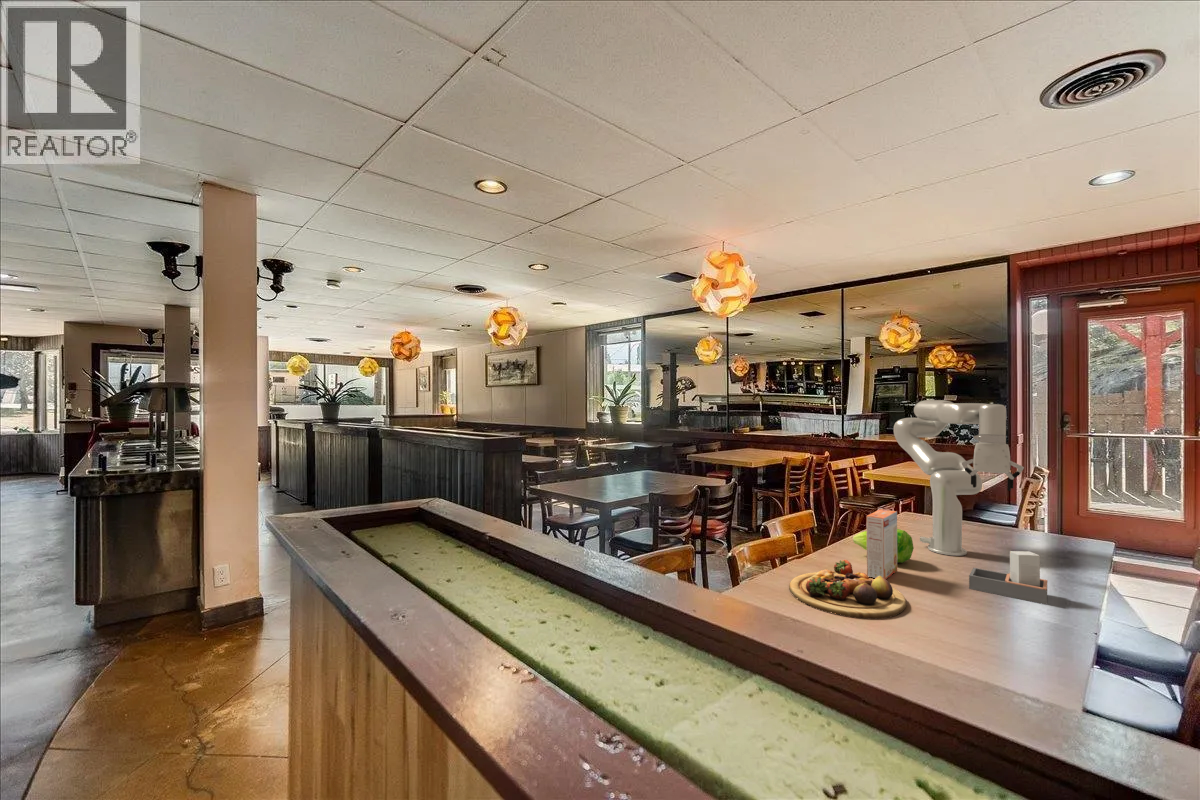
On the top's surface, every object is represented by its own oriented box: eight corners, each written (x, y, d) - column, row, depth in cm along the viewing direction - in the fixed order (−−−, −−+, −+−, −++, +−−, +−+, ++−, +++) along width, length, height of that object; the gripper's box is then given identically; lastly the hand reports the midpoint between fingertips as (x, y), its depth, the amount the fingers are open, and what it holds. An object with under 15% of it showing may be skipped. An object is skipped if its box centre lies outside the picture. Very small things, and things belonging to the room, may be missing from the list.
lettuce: (859, 549, 203) (859, 519, 203) (918, 561, 189) (918, 528, 189) (847, 557, 193) (847, 525, 193) (908, 570, 179) (909, 535, 179)
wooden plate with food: (807, 571, 179) (807, 547, 178) (914, 593, 159) (914, 566, 158) (773, 602, 154) (773, 574, 154) (895, 632, 134) (895, 600, 134)
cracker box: (879, 567, 182) (879, 508, 182) (898, 571, 178) (898, 511, 178) (865, 577, 172) (865, 514, 172) (884, 581, 168) (885, 517, 168)
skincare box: (1029, 589, 159) (1030, 551, 159) (1040, 595, 155) (1040, 555, 155) (1008, 589, 160) (1009, 550, 160) (1018, 594, 155) (1019, 554, 155)
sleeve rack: (969, 588, 162) (969, 574, 162) (973, 580, 170) (973, 566, 170) (1046, 604, 150) (1046, 589, 150) (1047, 594, 157) (1047, 580, 157)
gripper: (960, 438, 183) (960, 487, 183) (1023, 441, 171) (1023, 493, 171) (963, 437, 188) (963, 484, 189) (1024, 440, 177) (1024, 490, 177)
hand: (991, 488), depth 180 cm, fingers open, 9 cm apart
